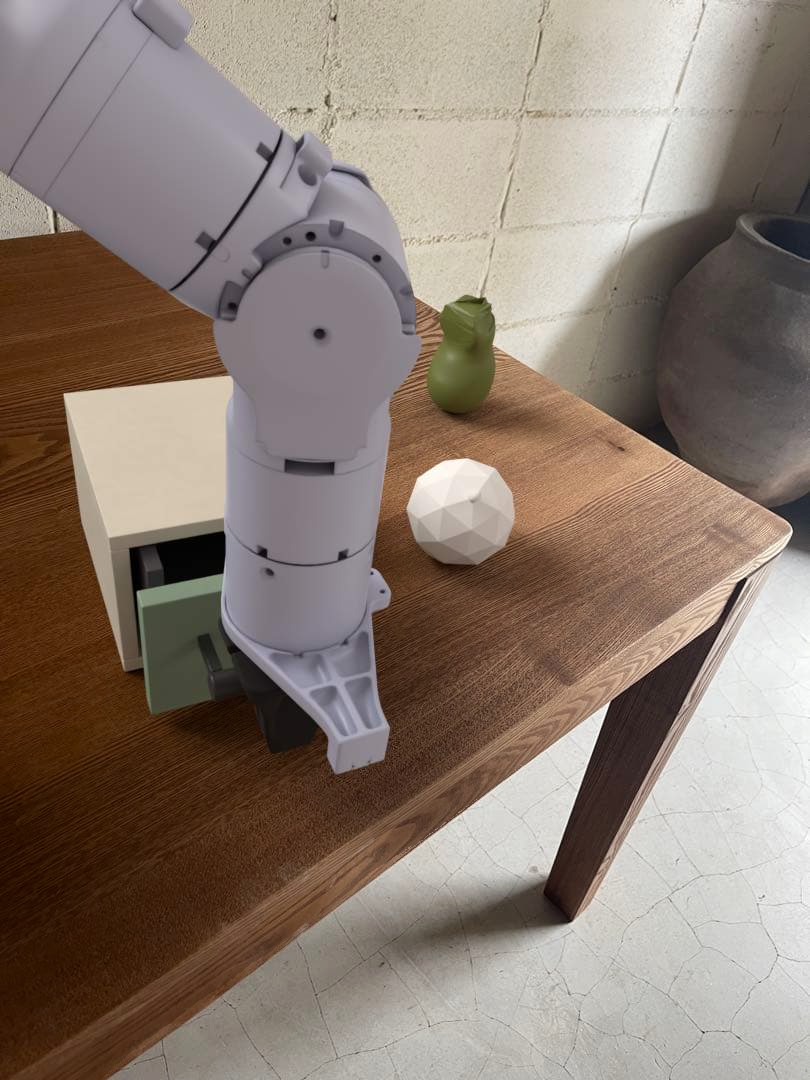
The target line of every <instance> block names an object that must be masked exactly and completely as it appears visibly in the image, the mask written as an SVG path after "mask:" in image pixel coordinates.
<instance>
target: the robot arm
mask: <svg viewBox="0 0 810 1080" xmlns="http://www.w3.org/2000/svg"><path fill="white" fill-rule="evenodd" d="M194 22H195V17H194V15H193V14H192V12H191V11H190V10H189V9H188V8H186V7H185V6H184V5H183V3H181V2H180V1H179V0H0V173H2V174H3V175H5V176H6V177H8V178H9V179H10V180H11V181H13V182H14V183H16V184H17V185H18V186H20V187H21V188H22V189H24V190H26V192H28V193H29V194H31V195H32V196H34V197H35V198H36V199H37V200H39V201H41V202H42V203H44V204H45V205H46V206H47V207H48V208H50V209H52V210H53V211H55V212H56V213H58V214H59V215H60V216H62V218H64V219H66V220H67V221H69V223H71V224H73V225H74V226H75V227H77V228H78V229H79V230H80V231H82V232H83V233H85V234H86V235H88V236H89V237H91V238H92V239H93V240H94V241H96V242H97V243H99V244H100V245H101V246H103V247H104V248H105V249H107V250H108V251H110V252H111V253H112V254H114V255H115V256H116V257H118V258H120V259H121V260H122V261H124V262H125V263H126V264H127V265H129V266H130V267H132V268H133V269H134V270H136V271H137V272H139V273H140V274H141V275H142V276H144V277H146V278H147V279H148V280H149V281H151V282H153V283H154V284H155V285H156V286H158V287H159V288H161V289H162V290H164V291H165V290H166V292H167V293H168V294H169V295H170V296H172V297H173V298H175V299H176V300H177V301H179V302H180V303H181V304H182V305H185V306H187V307H188V308H191V309H193V310H195V311H197V312H198V313H200V314H202V315H205V316H206V317H208V318H210V319H212V320H213V323H212V333H213V339H214V343H215V344H214V345H215V348H216V351H217V354H218V357H219V358H220V360H221V363H222V365H223V367H224V368H225V370H226V372H227V373H228V375H229V376H231V377H232V379H233V394H232V396H231V398H230V400H229V402H228V405H227V409H226V500H225V501H224V533H225V535H226V558H225V567H224V577H223V586H222V595H221V616H220V618H219V621H218V628H219V630H220V633H221V635H222V638H223V640H224V643H225V645H226V648H227V650H228V652H229V654H230V655H231V660H232V663H233V665H234V668H235V670H236V673H237V675H238V678H239V680H240V683H241V685H242V687H243V689H244V691H245V693H246V696H247V698H248V699H249V701H250V702H251V704H252V705H253V709H254V713H255V716H256V719H257V724H258V725H259V728H260V730H261V731H260V732H261V733H262V736H263V738H264V740H265V743H266V746H267V748H268V750H269V752H270V753H271V754H272V755H276V754H280V753H283V752H286V751H290V750H294V749H298V748H300V747H305V746H307V745H310V744H311V743H312V741H313V740H314V738H315V736H316V734H317V732H318V731H319V728H321V730H322V731H323V733H324V734H325V735H326V736H327V741H328V743H327V752H326V757H327V759H328V762H329V764H330V766H331V769H332V770H333V772H334V774H335V775H339V774H340V775H341V774H343V773H347V772H349V771H355V770H357V769H360V768H364V767H367V766H369V765H372V764H375V763H379V762H382V761H384V760H385V757H386V752H387V747H388V742H389V736H390V731H391V726H390V725H389V723H388V720H387V719H386V716H385V714H384V711H383V708H382V705H381V702H380V697H379V691H378V679H377V678H378V677H377V667H376V655H375V654H376V653H375V642H374V631H373V619H372V616H373V615H372V614H373V613H374V612H378V611H381V610H384V609H386V608H388V607H389V605H390V603H391V598H392V591H391V589H390V587H389V585H388V583H387V582H386V580H385V578H383V576H382V574H381V572H380V571H378V569H376V568H373V566H372V565H373V558H374V550H375V544H376V536H377V530H378V525H379V517H380V511H381V510H380V509H381V502H382V496H383V490H384V489H383V488H384V482H385V481H384V480H385V474H386V467H387V462H388V461H387V460H388V453H389V446H390V439H391V433H392V419H391V415H390V410H389V409H390V405H391V403H392V400H393V397H394V394H395V392H397V391H398V389H399V388H400V387H401V386H402V385H403V384H404V383H405V382H406V380H407V379H408V377H409V376H410V374H411V373H412V370H413V369H414V367H415V366H416V363H417V362H418V358H419V356H420V353H421V349H422V346H423V338H422V337H421V335H419V334H418V333H416V331H417V321H418V316H417V304H416V297H415V293H414V289H413V285H412V279H411V276H410V271H409V267H408V262H407V258H406V254H405V248H404V244H403V239H402V235H401V231H400V229H399V226H398V224H397V221H396V219H395V218H394V216H393V213H391V210H390V208H389V207H388V206H387V203H386V202H385V200H384V199H383V198H382V197H381V196H380V194H379V193H378V192H377V191H376V190H375V189H374V187H373V186H372V183H371V182H370V178H369V177H368V175H367V173H366V172H365V171H364V170H362V169H361V168H359V167H357V166H355V165H353V164H350V163H347V162H345V161H342V160H338V159H335V158H333V152H332V150H331V149H330V148H329V147H328V146H327V145H326V144H325V143H324V142H323V141H321V139H319V138H318V137H317V135H315V134H314V133H313V132H312V131H311V130H305V131H304V132H303V133H302V134H301V135H300V136H299V138H298V139H297V140H295V138H294V137H293V136H291V135H290V134H289V133H288V131H286V130H285V129H283V128H281V126H280V124H278V123H277V122H276V121H275V120H274V119H273V118H271V117H270V116H269V115H268V114H267V113H266V112H265V111H264V110H262V109H261V107H259V106H258V105H257V104H256V103H255V102H254V101H253V100H252V99H250V97H248V96H247V95H246V94H245V93H244V92H243V91H241V90H240V89H239V88H238V87H237V86H236V85H235V84H234V83H233V82H231V80H229V79H228V78H227V77H226V76H225V75H223V73H222V72H221V71H219V69H217V68H216V67H215V66H214V65H213V64H212V63H211V62H209V61H208V60H207V58H205V57H204V56H203V55H202V54H200V53H199V52H198V51H197V50H196V49H195V48H194V47H193V46H192V45H190V43H188V42H187V41H186V40H185V39H186V38H187V36H188V35H189V33H190V30H191V28H192V27H193V26H194Z"/></svg>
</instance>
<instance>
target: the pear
mask: <svg viewBox="0 0 810 1080" xmlns="http://www.w3.org/2000/svg"><path fill="white" fill-rule="evenodd" d="M492 305H493V304H492V303H490V302H488V299H487V296H484V297H483V296H482V297H477V296H474V295H470V294H463V295H462V296H460V297H459V298H457V299H456V300H454V301H451V302H449V303H446V304H444V306H443V309H442V310H441V312H440V313H439V317H438V321H439V325H440V328H441V331H442V333H443V336H442V341H441V342H440V343H439V345H438V347H437V348H436V350H435V352H434V354H433V356H432V359H431V361H430V364H429V367H428V370H427V375H426V389H427V392H428V395H429V396H430V399H431V400H432V401H433V403H434V404H435V405H436V406H437V407H439V408H440V409H441V410H444V411H445V412H448V413H452V414H466V413H469V412H472V411H474V410H476V409H477V408H478V407H480V406H481V405H482V404H483V403H484V401H485V400H486V399H487V398H488V395H489V393H490V392H491V389H492V386H493V384H494V381H495V376H496V368H497V367H496V355H495V351H494V340H495V336H496V332H497V331H496V330H497V329H496V318H495V317H496V316H495V315H494V313H493V312H492V310H493V307H492Z"/></svg>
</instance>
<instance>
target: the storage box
mask: <svg viewBox="0 0 810 1080" xmlns="http://www.w3.org/2000/svg"><path fill="white" fill-rule="evenodd" d="M232 394H233V379H232V377H231V376H230V375H223V376H212V377H204V378H192V379H186V380H175V381H167V382H166V381H165V382H157V383H148V384H140V385H131V386H119V387H111V388H102V389H101V388H100V389H94V390H92V389H91V390H83V391H74V392H66V393H65V392H64V393H63V402H64V407H65V415H66V422H67V429H68V436H69V443H70V449H71V450H70V451H71V458H72V465H73V470H74V471H73V472H74V478H75V485H76V492H77V499H78V507H79V514H80V519H81V520H80V521H81V525H82V528H83V531H84V536H85V538H86V542H87V546H88V549H89V554H90V556H91V560H92V563H93V566H94V571H95V574H96V578H97V581H98V585H99V588H100V592H101V595H102V598H103V602H104V605H105V609H106V612H107V616H108V619H109V623H110V626H111V630H112V634H113V637H114V640H115V644H116V647H117V650H118V655H119V658H120V661H121V664H122V668H123V671H124V672H130V671H134V670H138V669H144V664H143V654H142V643H141V633H140V622H139V618H138V615H137V612H136V609H135V605H134V595H133V585H132V575H131V565H130V554H129V548H132V547H137V546H143V545H148V544H154V543H159V542H165V541H170V540H176V539H181V538H187V537H192V536H198V535H203V534H209V533H214V532H220V531H224V501H225V500H226V409H227V405H228V402H229V400H230V398H231V396H232Z"/></svg>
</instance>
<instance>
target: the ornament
mask: <svg viewBox="0 0 810 1080" xmlns="http://www.w3.org/2000/svg"><path fill="white" fill-rule="evenodd" d="M513 495H514V494H513V492H512V491H511V489H510V487H509V486H508V485H507V482H506V481H505V480H504V478H503V476H501V474H500V472H499V471H498V469H497V468H496V467H493V466H491V465H487V464H485V463H482V462H479V461H477V460H473V459H471V458H468V457H467V458H466V457H465V458H456V459H449V460H443V461H442V462H440V463H438V464H436V465H434V466H433V467H432V468H430V469H429V470H427V471H426V472H424V473H423V474H421V475H420V476H418V477H417V478H416V480H415V483H414V487H413V490H412V492H411V495H410V498H409V501H408V503H407V507H406V514H407V517H408V521H409V524H410V528H411V531H412V534H413V537H414V540H415V542H416V543H417V544H418V546H419V547H420V548H421V549H422V550H423V551H424V553H425V554H426V555H427V556H429V557H431V558H433V559H435V560H436V561H438V562H441V563H443V564H449V565H450V564H452V565H480V564H481V563H483V562H484V561H485V560H487V559H489V558H490V557H491V556H493V555H494V554H496V553H498V552H499V551H500V550H502V549H504V548H505V547H506V544H507V542H508V539H509V537H510V535H511V532H512V530H513V527H514V524H515V517H516V511H515V503H514V496H513Z"/></svg>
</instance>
